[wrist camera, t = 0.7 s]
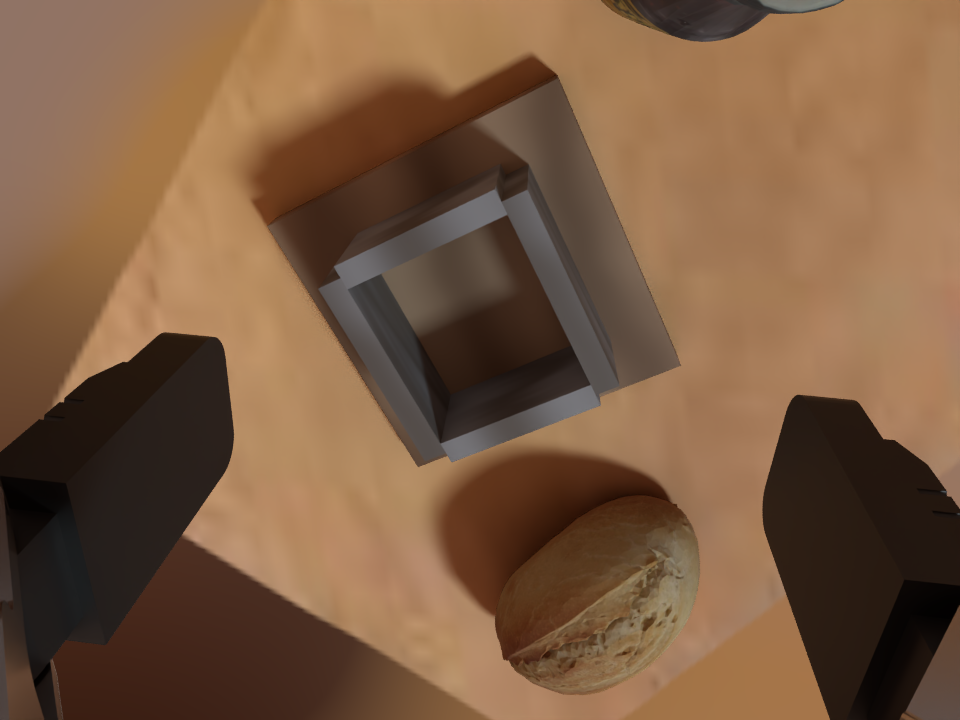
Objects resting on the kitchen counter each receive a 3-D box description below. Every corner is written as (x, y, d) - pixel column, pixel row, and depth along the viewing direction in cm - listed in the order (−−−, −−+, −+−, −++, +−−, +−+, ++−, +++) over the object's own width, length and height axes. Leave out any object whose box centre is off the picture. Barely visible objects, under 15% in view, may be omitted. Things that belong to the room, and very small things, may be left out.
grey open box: (557, 74, 36) (560, 92, 30) (676, 353, 41) (698, 413, 36) (276, 218, 40) (231, 258, 34) (421, 452, 46) (404, 521, 40)
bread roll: (457, 589, 50) (443, 689, 43) (609, 443, 44) (622, 532, 37) (567, 658, 53) (572, 765, 45) (726, 528, 47) (760, 627, 40)
